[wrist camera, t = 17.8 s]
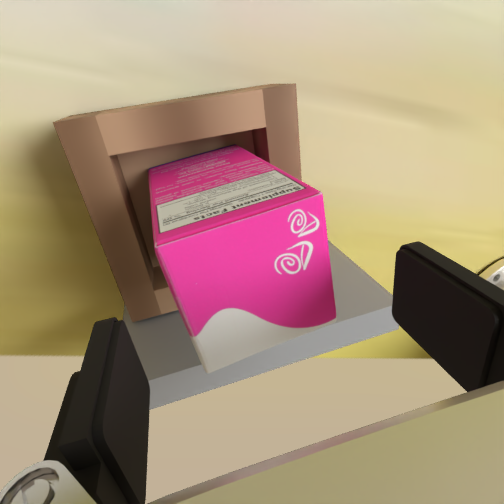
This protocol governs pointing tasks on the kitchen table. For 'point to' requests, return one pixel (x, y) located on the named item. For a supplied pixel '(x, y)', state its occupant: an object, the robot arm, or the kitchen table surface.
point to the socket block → (160, 152)
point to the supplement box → (241, 252)
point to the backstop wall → (300, 348)
